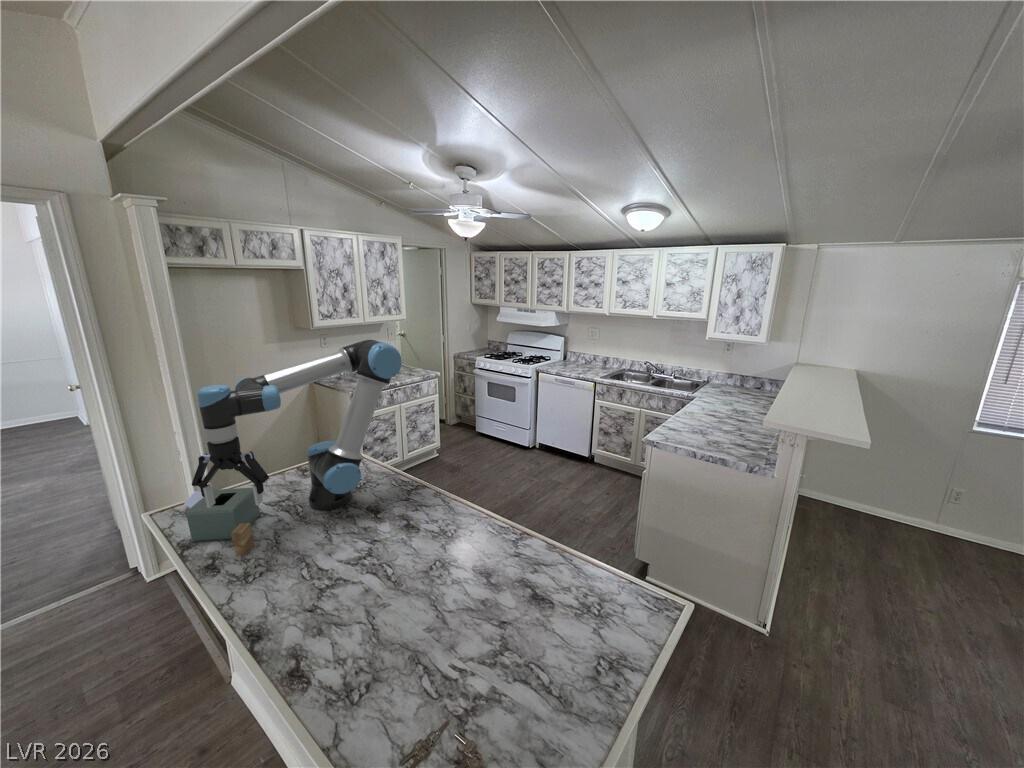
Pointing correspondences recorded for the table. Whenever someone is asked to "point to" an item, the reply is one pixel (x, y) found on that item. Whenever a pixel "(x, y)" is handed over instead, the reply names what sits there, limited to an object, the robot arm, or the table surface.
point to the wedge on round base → (193, 499)
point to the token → (243, 539)
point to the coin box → (222, 514)
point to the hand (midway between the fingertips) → (235, 504)
